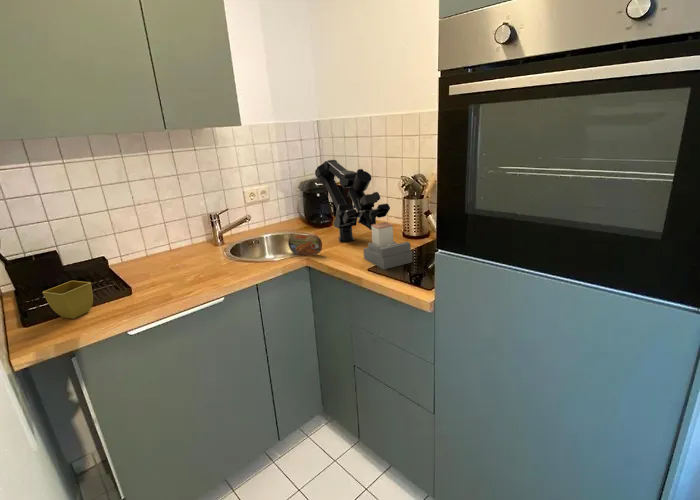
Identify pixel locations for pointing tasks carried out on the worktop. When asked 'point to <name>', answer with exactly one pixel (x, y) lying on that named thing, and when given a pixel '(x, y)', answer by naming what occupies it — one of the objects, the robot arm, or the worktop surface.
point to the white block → (382, 234)
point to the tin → (305, 244)
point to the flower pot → (70, 298)
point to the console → (389, 254)
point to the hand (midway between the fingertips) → (375, 231)
